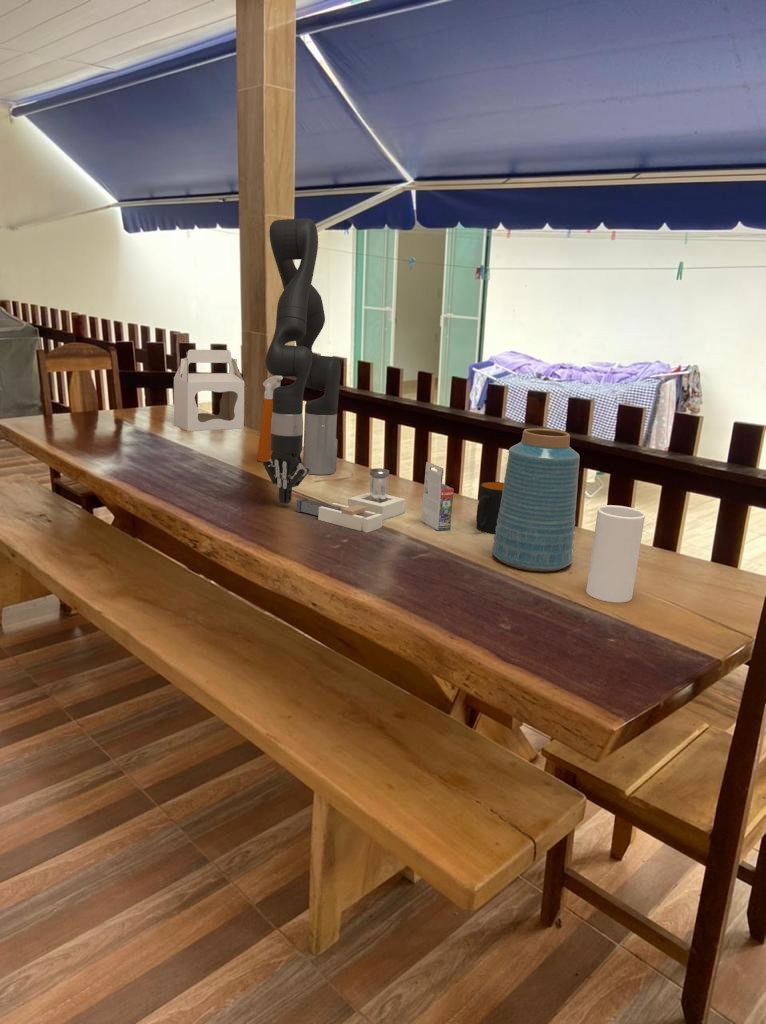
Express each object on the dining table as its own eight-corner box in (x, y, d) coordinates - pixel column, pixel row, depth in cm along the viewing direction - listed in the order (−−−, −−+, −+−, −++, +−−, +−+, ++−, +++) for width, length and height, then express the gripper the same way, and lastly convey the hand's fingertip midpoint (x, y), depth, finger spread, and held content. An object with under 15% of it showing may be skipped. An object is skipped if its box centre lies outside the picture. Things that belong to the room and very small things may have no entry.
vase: (578, 557, 165) (595, 432, 158) (562, 579, 150) (580, 443, 143) (504, 543, 171) (517, 422, 164) (481, 563, 157) (494, 432, 150)
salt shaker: (374, 507, 191) (376, 467, 188) (390, 510, 188) (392, 470, 186) (364, 511, 187) (365, 470, 184) (380, 514, 185) (382, 473, 182)
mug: (460, 531, 178) (464, 487, 175) (488, 522, 187) (493, 480, 184) (490, 540, 173) (495, 494, 170) (518, 530, 182) (523, 487, 179)
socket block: (371, 505, 195) (372, 491, 194) (404, 513, 190) (405, 499, 189) (347, 512, 187) (348, 498, 186) (381, 521, 181) (382, 506, 180)
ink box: (434, 520, 185) (439, 460, 181) (451, 530, 178) (456, 467, 174) (420, 521, 183) (425, 460, 179) (437, 531, 176) (442, 468, 172)
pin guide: (333, 515, 184) (334, 499, 183) (381, 527, 177) (383, 510, 176) (318, 519, 179) (319, 503, 178) (367, 532, 172) (368, 515, 171)
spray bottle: (272, 466, 230) (274, 376, 223) (252, 459, 238) (254, 372, 231) (291, 464, 235) (294, 376, 228) (271, 457, 243) (274, 371, 235)
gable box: (229, 422, 299) (230, 348, 291) (244, 428, 288) (245, 352, 281) (173, 425, 286) (172, 347, 278) (187, 431, 276) (186, 351, 268)
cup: (580, 585, 148) (591, 504, 143) (621, 586, 149) (634, 506, 144) (595, 602, 140) (607, 516, 136) (639, 603, 141) (652, 518, 136)
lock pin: (304, 508, 187) (304, 498, 186) (340, 518, 181) (340, 506, 180) (296, 511, 184) (296, 500, 184) (332, 520, 179) (332, 509, 178)
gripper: (318, 434, 183) (316, 505, 187) (276, 426, 190) (274, 495, 194) (298, 437, 177) (295, 511, 181) (255, 429, 184) (253, 500, 188)
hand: (284, 502), depth 188 cm, fingers closed
